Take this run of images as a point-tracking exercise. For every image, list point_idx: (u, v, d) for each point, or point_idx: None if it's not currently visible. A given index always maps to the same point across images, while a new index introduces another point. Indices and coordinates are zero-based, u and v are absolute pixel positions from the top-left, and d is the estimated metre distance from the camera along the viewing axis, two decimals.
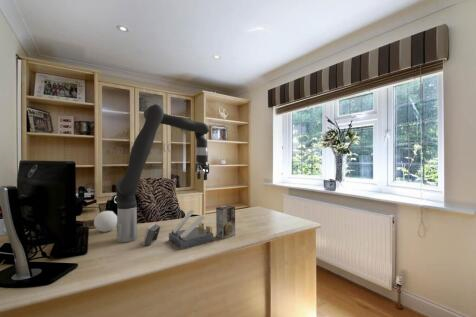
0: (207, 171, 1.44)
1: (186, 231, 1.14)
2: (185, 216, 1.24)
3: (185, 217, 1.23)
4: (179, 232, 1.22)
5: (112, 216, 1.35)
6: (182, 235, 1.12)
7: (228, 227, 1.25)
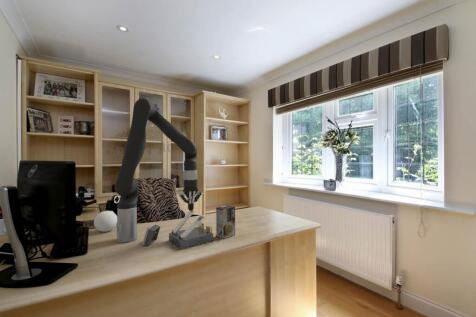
0: (195, 199, 1.27)
1: (186, 231, 1.14)
2: (185, 216, 1.24)
3: (185, 217, 1.23)
4: (179, 232, 1.22)
5: (112, 216, 1.35)
6: (182, 235, 1.12)
7: (228, 227, 1.25)
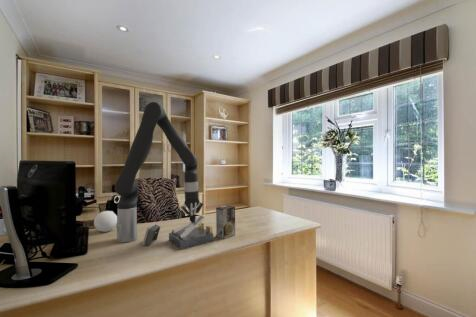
0: (196, 210, 1.27)
1: (186, 231, 1.14)
2: (190, 222, 1.26)
3: (189, 223, 1.25)
4: (179, 232, 1.22)
5: (112, 216, 1.35)
6: (182, 235, 1.12)
7: (228, 227, 1.25)
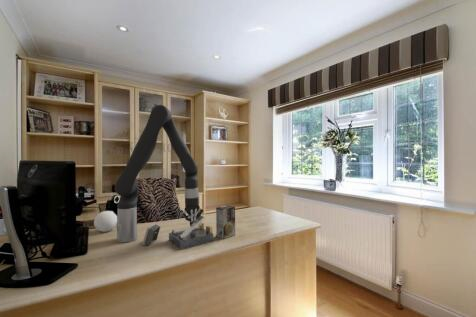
0: (196, 216, 1.27)
1: (186, 231, 1.14)
2: None
3: None
4: None
5: (112, 216, 1.35)
6: (182, 235, 1.12)
7: (228, 227, 1.25)
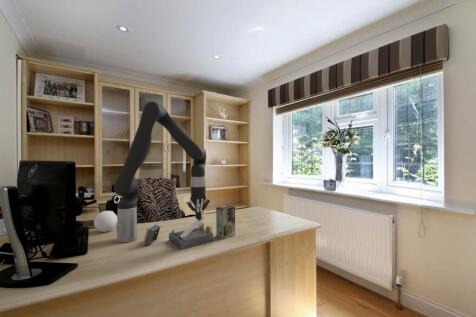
0: (202, 207, 1.20)
1: (186, 231, 1.14)
2: None
3: None
4: None
5: (112, 216, 1.35)
6: (182, 235, 1.12)
7: (228, 227, 1.25)
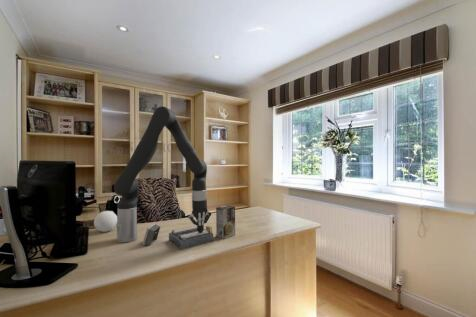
0: (204, 220, 1.20)
1: (188, 234, 1.14)
2: (191, 227, 1.26)
3: (190, 228, 1.25)
4: None
5: (112, 216, 1.35)
6: (183, 235, 1.13)
7: (228, 227, 1.25)
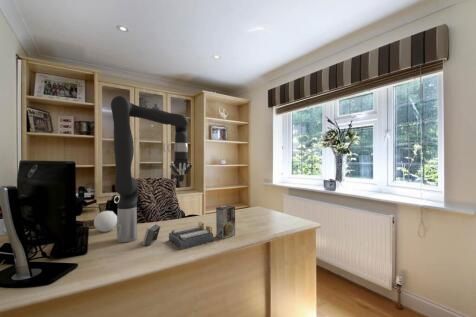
0: None
1: (188, 234, 1.14)
2: (191, 227, 1.26)
3: (190, 228, 1.25)
4: None
5: (112, 216, 1.35)
6: (183, 235, 1.13)
7: (228, 227, 1.25)
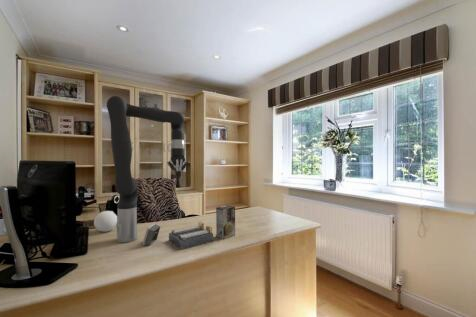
0: (182, 167, 1.35)
1: (188, 234, 1.14)
2: (191, 227, 1.26)
3: (190, 228, 1.25)
4: None
5: (112, 216, 1.35)
6: (183, 235, 1.13)
7: (228, 227, 1.25)
